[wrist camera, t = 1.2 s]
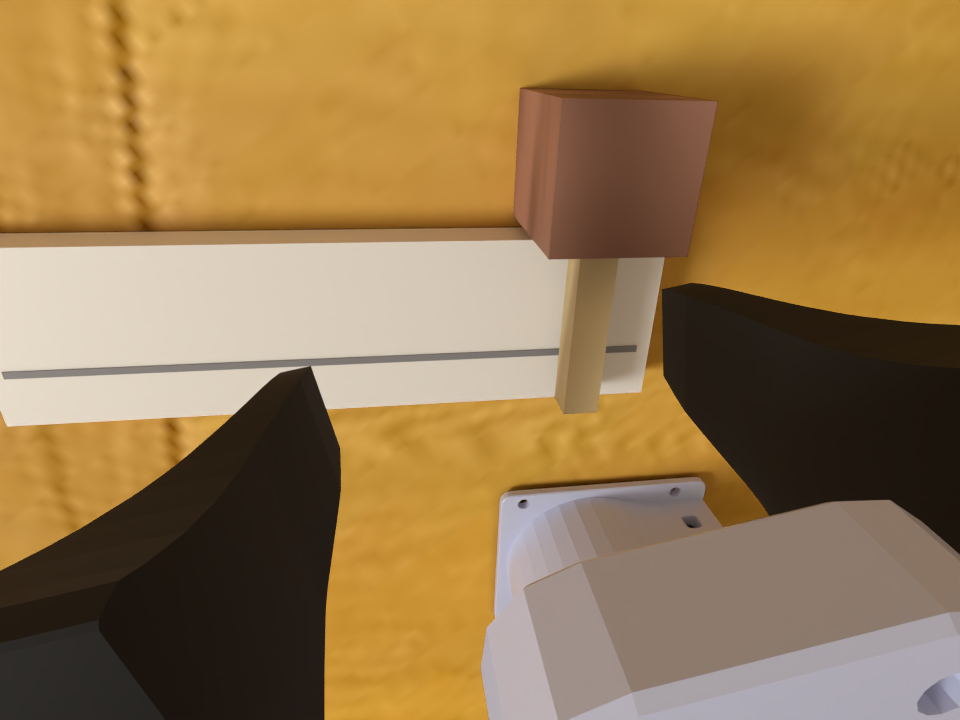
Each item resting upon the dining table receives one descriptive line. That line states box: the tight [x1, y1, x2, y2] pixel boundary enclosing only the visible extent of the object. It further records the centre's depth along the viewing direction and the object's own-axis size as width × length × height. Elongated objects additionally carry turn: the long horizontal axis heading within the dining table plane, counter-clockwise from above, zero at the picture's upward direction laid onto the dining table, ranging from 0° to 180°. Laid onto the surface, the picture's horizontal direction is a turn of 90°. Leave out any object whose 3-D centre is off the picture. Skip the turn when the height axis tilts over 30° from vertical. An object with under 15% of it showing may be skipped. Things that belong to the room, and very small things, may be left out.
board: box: [0, 227, 665, 426], centre depth 20 cm, size 22×6×2 cm, turn 88°
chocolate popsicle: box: [513, 88, 718, 414], centre depth 19 cm, size 4×10×5 cm, turn 178°
